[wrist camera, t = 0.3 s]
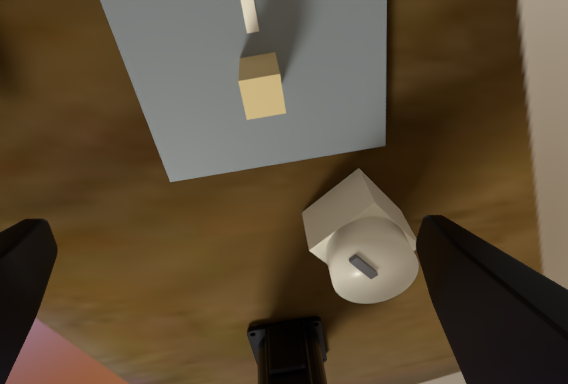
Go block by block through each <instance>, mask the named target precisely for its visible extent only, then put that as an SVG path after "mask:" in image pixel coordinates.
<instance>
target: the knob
mask: <svg viewBox="0 0 568 384" xmlns="http://www.w3.org/2000/svg"><path fill="white" fill-rule="evenodd" d="M302 217H303V222H304V227H305V233H306V238H307V243H308V248H309V251H310V252H312V253H313V254H314V255H316V256H317V257H318V258H320V259H321V260H322V261H323V262H325V263H326V264H327V265H328V268H329V272H330V276H331V280H332V284H333V287H334V289H335V291H336V292H337V293H338V295H340V296H341V297H342V298H344V299H346V300H348V301H351V302H354V303H361V304H371V303H378V302H382V301H386V300H388V299H391V298H393V297H395V296H397V295H399V294H400V293H402V292H403V291H405V290H406V289H407V288H408V287H409V286H410V285H411V284H412V283H413V281H414V280H415V278H416V276H417V273H418V269H419V264H418V260H417V257H416V255H415V253H414V251H415V250H416V237H415V235H414V234H413V232H412V230H411V228H410V226H409V224H408V223H407V221H406V219H405V217H404V215H403V213H402V212H401V210H400V209H399V208H398V207H397V206H396V205H395V204H394V203H393V202H392V201H391V200H390V199H389V198H388V197H387V196H386V195H385V194H384V193H383V192H382V191H381V190H380V189H379V188H378V187H377V186H376V185H375V184H374V183H373V182H372V181H371V180H370V179H369V178H368V177H367V176H366V175H365V174H364V173H363V172H362V171H361V170H360V169H359V168H358V169H357V170H355V171H354V172H353V173H352V174H350V175H349V176H348V177H346V178H345V179H344V180H343V181H341V182H340V183H339V184H338V185H336V186H335V187H334V188H332V189H331V190H330V191H329V192H327V193H326V194H325V195H323V196H322V197H321V198H320V199H318V200H317V201H316V202H315V203H313V204H312V205H311V206H309V207H308V208H307V209H306V210H304V211H303V212H302Z"/></svg>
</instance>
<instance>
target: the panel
mask: <svg viewBox="0 0 568 384" xmlns="http://www.w3.org/2000/svg"><path fill="white" fill-rule="evenodd" d="M100 1H101V4H102V6H103V9H104V12H105V14H106V17H107V19H108V22H109V24H110V27H111V30H112V32H113V35H114V37H115V40H116V43H117V45H118V48H119V50H120V53H121V56H122V58H123V61H124V63H125V66H126V69H127V71H128V74H129V76H130V79H131V81H132V84H133V87H134V89H135V92H136V94H137V97H138V100H139V102H140V105H141V107H142V110H143V113H144V115H145V118H146V120H147V123H148V126H149V128H150V131H151V133H152V136H153V138H154V141H155V144H156V146H157V149H158V151H159V154H160V157H161V159H162V162H163V164H164V167H165V170H166V172H167V175H168V177H169V180H170V182H174V181H180V180H186V179H192V178H198V177H204V176H209V175H215V174H221V173H227V172H233V171H239V170H245V169H251V168H257V167H263V166H269V165H275V164H281V163H287V162H293V161H298V160H304V159H310V158H316V157H322V156H328V155H334V154H340V153H346V152H352V151H358V150H364V149H370V148H376V147H381V146H386V34H387V0H100Z"/></svg>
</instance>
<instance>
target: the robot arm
mask: <svg viewBox="0 0 568 384" xmlns="http://www.w3.org/2000/svg"><path fill="white" fill-rule="evenodd" d="M416 250H417V254H418V257H419V261H420V264H421V267H422V271H423V274H424V277H425V281H426V284H427V288H428V291H429V294H430V297H431V300H432V303H433V306H434V308H435V311H436V313H437V315H438V318H439V320H440V322H441V325H442V327H443V330H444V332H445V334H446V337H447V339H448V341H449V344H450V346H451V348H452V351H453V353H454V355H455V358H456V360H457V363H458V365H459V367H460V370H461V372H462V374H463V377H464V379H465V381H466V383H467V384H568V290H567V289H566V288H564V287H562V286H561V285H559V284H557V283H555V282H554V281H552V280H550V279H549V278H547V277H545V276H544V275H542V274H540V273H539V272H537V271H535V270H534V269H532V268H530V267H528V266H527V265H525V264H523V263H522V262H520V261H518V260H517V259H515V258H513V257H512V256H510V255H508V254H507V253H505V252H503V251H501V250H500V249H498V248H496V247H495V246H493V245H491V244H490V243H488V242H486V241H485V240H483V239H481V238H479V237H478V236H476V235H474V234H473V233H471V232H469V231H468V230H466V229H464V228H463V227H461V226H459V225H458V224H456V223H454V222H452V221H451V220H449V219H447V218H446V217H444V216H442V215H427V216H425V217H424V218H423V220H422V223H421V226H420V229H419V232H418V236H417V239H416ZM56 257H57V244H56V242H55V239H54V236H53V234H52V231H51V228H50V225H49V223H48V222H47V221H46V220H45V219H24V220H22V221H20V222H18V223H17V224H15V225H13V226H11V227H9V228H7V229H5V230H4V231H2V232H0V384H5V382H6V380H7V378H8V376H9V374H10V371H11V369H12V367H13V365H14V363H15V361H16V359H17V357H18V355H19V352H20V350H21V348H22V346H23V344H24V342H25V340H26V337H27V335H28V333H29V331H30V329H31V326H32V325H33V322H34V320H35V318H36V315H37V313H38V310H39V308H40V305H41V302H42V299H43V296H44V293H45V290H46V287H47V284H48V281H49V278H50V275H51V272H52V269H53V266H54V263H55V260H56ZM247 336H248V339H249V342H250V345H251V348H252V351H253V354H254V357H255V360H256V363H257V366H258V384H327V380H326V374H325V369H324V363H323V362H325V361H326V360H327V357H326V350H325V343H324V336H323V330H322V323H321V319H320V318H319V317H311V318H305V319H299V320H292V321H286V322H280V323H274V324H267V325H261V326H255V327H250V328H248V330H247Z"/></svg>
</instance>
